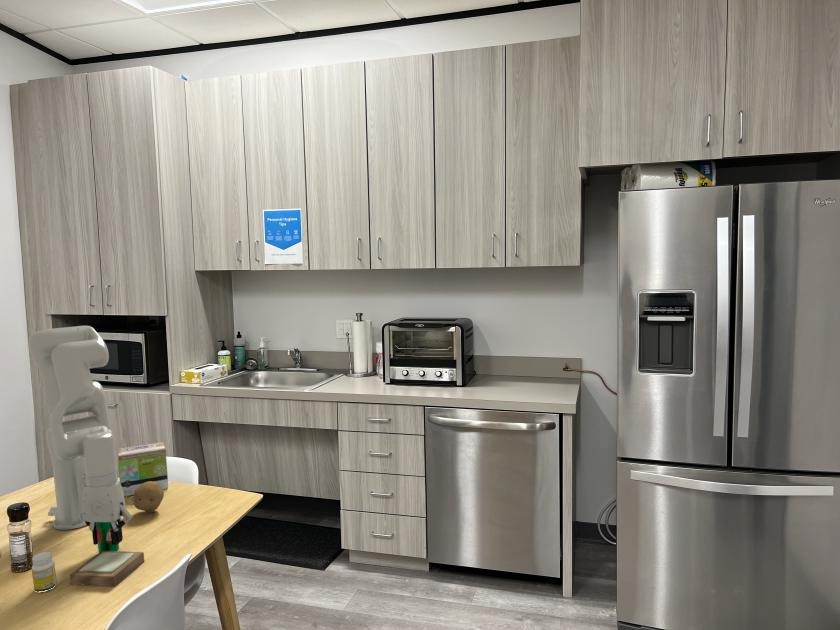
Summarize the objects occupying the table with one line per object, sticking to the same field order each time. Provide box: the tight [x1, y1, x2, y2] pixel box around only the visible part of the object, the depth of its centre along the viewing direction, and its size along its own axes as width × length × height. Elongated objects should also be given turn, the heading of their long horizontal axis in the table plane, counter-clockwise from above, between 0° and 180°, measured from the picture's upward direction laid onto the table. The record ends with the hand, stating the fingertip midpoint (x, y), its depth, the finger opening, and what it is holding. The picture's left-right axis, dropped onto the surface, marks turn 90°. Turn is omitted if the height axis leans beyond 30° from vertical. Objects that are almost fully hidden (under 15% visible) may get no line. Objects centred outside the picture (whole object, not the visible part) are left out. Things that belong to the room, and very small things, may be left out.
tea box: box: [117, 441, 169, 498], centre depth 209 cm, size 15×10×15 cm, turn 117°
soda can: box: [96, 521, 120, 554], centre depth 163 cm, size 5×5×12 cm
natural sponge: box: [132, 481, 165, 514], centre depth 188 cm, size 9×9×10 cm
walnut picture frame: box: [69, 550, 145, 588], centre depth 153 cm, size 12×12×3 cm
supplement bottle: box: [31, 551, 58, 592], centre depth 146 cm, size 5×5×8 cm
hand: (108, 542), depth 163 cm, fingers closed on soda can, 5 cm apart
